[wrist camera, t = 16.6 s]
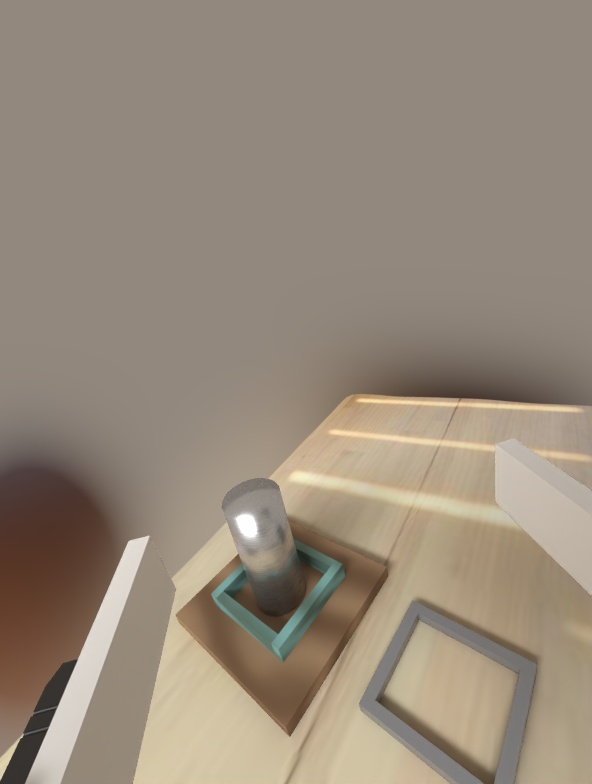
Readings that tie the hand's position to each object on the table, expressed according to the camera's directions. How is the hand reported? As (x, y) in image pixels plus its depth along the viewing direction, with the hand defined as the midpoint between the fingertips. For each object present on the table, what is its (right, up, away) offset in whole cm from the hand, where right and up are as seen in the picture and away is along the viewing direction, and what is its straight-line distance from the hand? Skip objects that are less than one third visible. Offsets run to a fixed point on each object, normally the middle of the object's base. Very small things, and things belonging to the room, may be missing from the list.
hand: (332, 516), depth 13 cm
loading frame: (+12, -21, +17) cm, 30 cm away
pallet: (-3, -20, +28) cm, 35 cm away
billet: (-3, -19, +28) cm, 34 cm away
